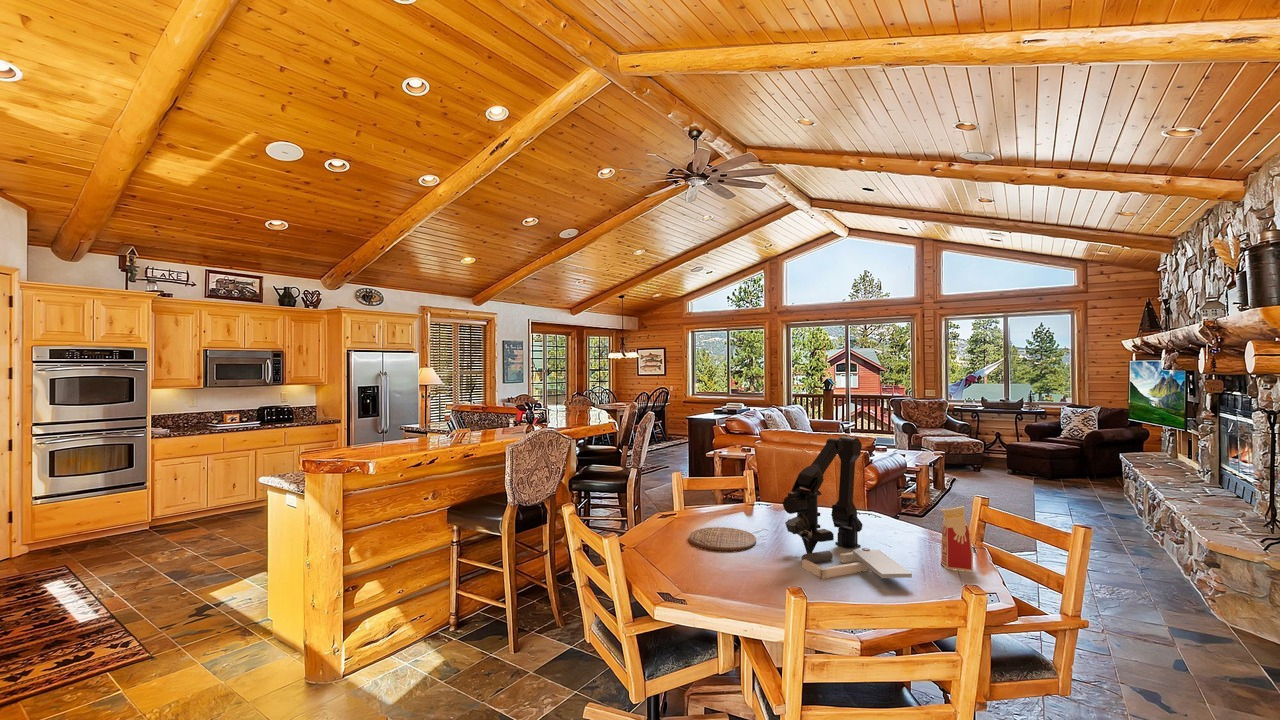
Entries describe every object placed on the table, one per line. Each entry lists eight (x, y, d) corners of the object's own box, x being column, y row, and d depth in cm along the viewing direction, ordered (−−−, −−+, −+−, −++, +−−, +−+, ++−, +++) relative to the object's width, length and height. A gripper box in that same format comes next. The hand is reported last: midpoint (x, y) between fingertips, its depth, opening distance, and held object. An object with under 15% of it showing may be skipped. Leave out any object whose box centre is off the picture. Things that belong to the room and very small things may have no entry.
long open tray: (857, 558, 196) (857, 549, 196) (879, 568, 187) (879, 558, 187) (802, 567, 188) (802, 558, 188) (822, 578, 178) (822, 568, 178)
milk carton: (968, 563, 192) (968, 503, 192) (974, 572, 183) (974, 510, 183) (937, 560, 195) (937, 501, 195) (942, 569, 186) (942, 507, 186)
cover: (851, 552, 192) (851, 548, 192) (877, 552, 193) (877, 547, 193) (881, 578, 170) (881, 573, 170) (911, 577, 170) (911, 572, 170)
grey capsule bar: (828, 558, 197) (828, 548, 197) (834, 561, 194) (834, 551, 194) (799, 562, 193) (799, 553, 193) (805, 565, 190) (805, 556, 190)
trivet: (755, 554, 201) (755, 549, 201) (685, 550, 206) (685, 544, 207) (756, 534, 226) (756, 529, 226) (693, 530, 231) (693, 525, 231)
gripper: (773, 505, 203) (773, 549, 203) (806, 518, 186) (807, 566, 186) (799, 502, 207) (799, 545, 207) (834, 515, 190) (834, 562, 190)
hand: (809, 554), depth 198 cm, fingers closed
